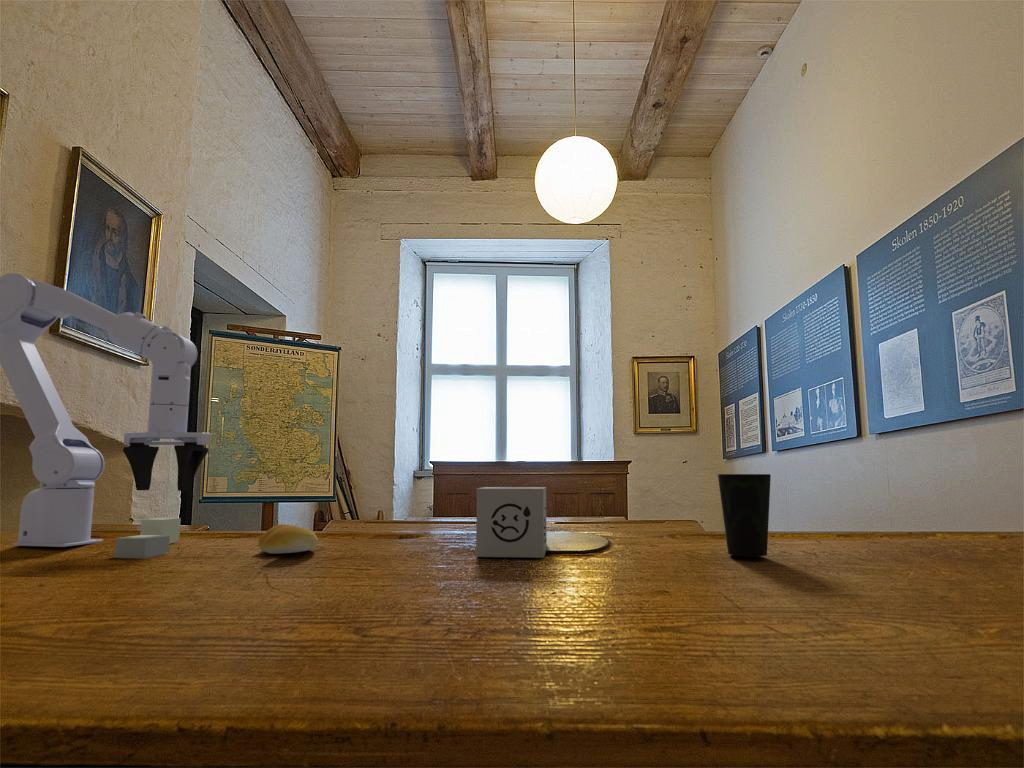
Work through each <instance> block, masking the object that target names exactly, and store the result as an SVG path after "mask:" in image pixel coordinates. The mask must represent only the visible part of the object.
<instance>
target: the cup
mask: <svg viewBox="0 0 1024 768" xmlns="http://www.w3.org/2000/svg"><path fill="white" fill-rule="evenodd" d="M771 477H772V476H771V474H770V473H766V474H765V473H759V474H758V473H745V474H744V473H736V474H735V473H725V474H724V473H718V474H717V479H718V486H719V488H718V489H719V492H720V493H719V494H720V501H721V509H722V510H721V511H722V517H723V523H724V524H723V525H724V530H725V532H724V533H725V540H726V546H727V554H728V555H731V556H737V557H739V556H740V557H766V556H767V555H768V545H769V544H768V542H769V541H768V538H769V520H770V519H769V518H770V517H769V516H770V498H771V497H770V496H771Z"/></svg>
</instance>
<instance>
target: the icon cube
mask: <svg viewBox="0 0 1024 768" xmlns="http://www.w3.org/2000/svg"><path fill="white" fill-rule="evenodd" d="M475 513H476V518H475V519H476V521H475V522H476V530H475V531H476V533H475V534H476V538H475V539H476V542H475V543H476V545H475V548H476V549H475V550H476V551H475V555H476V558H478V557H479V558H543V559H544V557H545V555H546V551H547V545H548V543H547V542H548V541H547V540H548V538H547V534H548V533H547V487H546V486H542V487H541V486H538V487H537V486H532V487H531V486H527V487H526V486H516V487H515V486H494V487H493V486H485V487H484V486H483V487H478V488H476V512H475Z"/></svg>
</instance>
